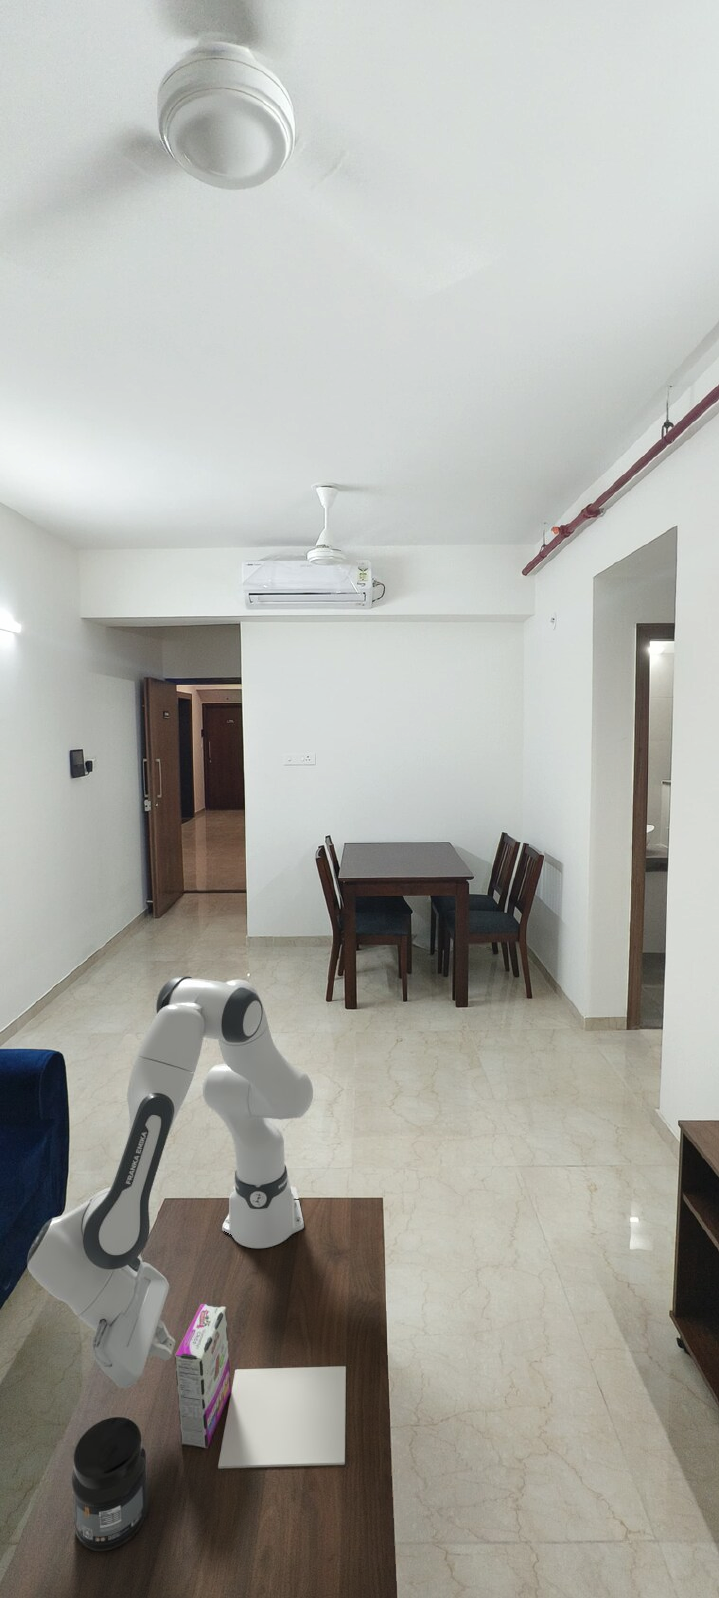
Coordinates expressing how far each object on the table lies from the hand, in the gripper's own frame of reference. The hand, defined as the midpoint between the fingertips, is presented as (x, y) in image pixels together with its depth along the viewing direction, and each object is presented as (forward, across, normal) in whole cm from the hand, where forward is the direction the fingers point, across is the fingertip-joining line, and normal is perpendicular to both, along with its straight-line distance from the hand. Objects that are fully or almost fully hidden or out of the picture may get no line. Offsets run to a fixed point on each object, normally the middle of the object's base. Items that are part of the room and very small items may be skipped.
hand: (171, 1351), depth 129 cm
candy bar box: (+13, 0, +5) cm, 14 cm away
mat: (+22, 0, -5) cm, 22 cm away
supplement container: (+5, -16, +13) cm, 21 cm away
